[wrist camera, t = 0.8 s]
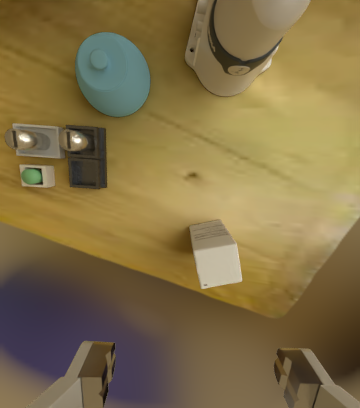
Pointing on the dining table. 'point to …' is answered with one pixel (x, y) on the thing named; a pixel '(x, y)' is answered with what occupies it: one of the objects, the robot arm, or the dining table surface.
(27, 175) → the button
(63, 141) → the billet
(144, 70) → the sugar bowl
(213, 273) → the supplement box
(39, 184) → the box
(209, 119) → the dining table surface
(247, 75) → the robot arm
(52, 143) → the tote
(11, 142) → the cylinder
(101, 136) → the dark two-compartment tray
